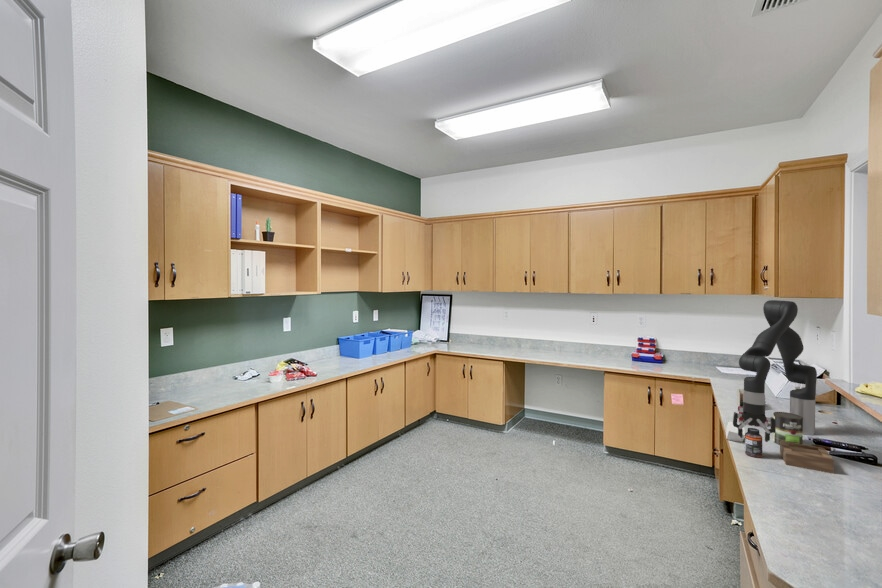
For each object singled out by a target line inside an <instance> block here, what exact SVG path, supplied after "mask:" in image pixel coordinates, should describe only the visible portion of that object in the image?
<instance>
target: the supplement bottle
mask: <svg viewBox="0 0 882 588" xmlns="http://www.w3.org/2000/svg"><path fill="white" fill-rule="evenodd" d="M744 454H745V455H747V456H749V457H751V458H758V459H759V458H762V457H763V436H762V435H761V434H760V430H759V429H758V428H755V427H748V428H747V432H745V436H744Z"/></svg>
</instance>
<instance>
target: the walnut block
mask: <svg viewBox="0 0 882 588" xmlns="http://www.w3.org/2000/svg"><path fill="white" fill-rule="evenodd" d="M779 453H780V456H781V458H782V460H783V462H784V464H785V466H790V467H795V468H800V469H801V468H802V469H806V470H811V471H815V472H816V471H817V472H822V473H828V474H833V475H834V469H835V467H834V463H835V461H834V460H835V459H833V457H832V456H831V455H830V453H829V452H828V451H827V449H825V447H822V446H815V445H809V444H804V443H803V444H798V443H791V442H785V441H780V445H779Z"/></svg>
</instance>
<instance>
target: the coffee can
mask: <svg viewBox="0 0 882 588" xmlns="http://www.w3.org/2000/svg"><path fill="white" fill-rule="evenodd" d="M772 415H773V418H774V419H775V429H776V432H775V433H773V437H772V439H773V443H775V444H776V445H778V446H780V441H785V442H791V443H798V444H804V443H803V441H804V440H803V437H804V435H803V417H802V416H799V415H796V414H792V413H790V412H785V411H774V412H773V414H772Z"/></svg>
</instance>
